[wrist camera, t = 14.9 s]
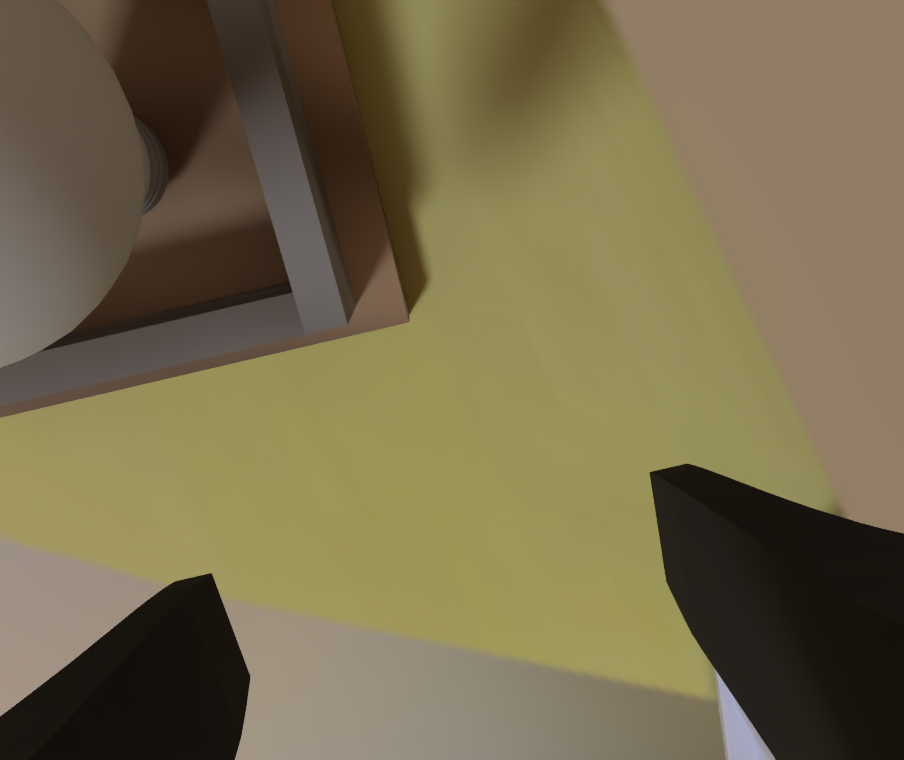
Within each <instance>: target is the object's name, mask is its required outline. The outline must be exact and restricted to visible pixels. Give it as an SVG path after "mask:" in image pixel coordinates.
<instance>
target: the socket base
mask: <svg viewBox="0 0 904 760" xmlns="http://www.w3.org/2000/svg"><path fill="white" fill-rule="evenodd" d="M59 1H60V2H61V4H62V5H63V6H64V7H65V8H66V9H67V10H68V11H69V12H70V13H71V14H72V15H73V16H74V17H75V18H76V20H77V21H78V22H79V23H80V24H81V25H82V27H83V28H84V29H85V30H86V31H87V33H88V34H89V35H90V37H91V38H92V40H93V41H94V43H95V44H96V46H97V47H98V49H99V50H100V51H101V53H102V54H103V56H104V57H105V59H106V60H107V62H108V63H109V65H110V66H111V68H112V69H113V71H114V72H115V75H116V77H117V79H118V81H119V83H120V86H121V88H122V90H123V92H124V94H125V97H126V99H127V101H128V103H129V105H130V108H131V110H132V113H133V116H135V117H137V118H139V119H140V120H141V121H143V122H144V123H146V124H147V125H148V126H149V127H150V128H151V129H152V130H153V131H154V133H155V134H156V136H157V137H158V138H159V140H160V141H161V143H162V146H163V148H164V150H165V152H166V156H167V160H168V168H169V176H168V183H167V187H166V190H165V192H164V195H163V196H162V198H161V199H160V201H159V203H158V204H157V205H156V206H155V207H154V208H153V209H152V210H150V211H149V212H147V213H145V214H144V215H142V216H141V223H140V229H139V232H138V234H137V237H136V240H135V243H134V245H133V248H132V251H131V254H130V257H129V259H128V262H127V263H126V265H125V267H124V268H123V270H122V271H121V273H120V274H119V276H118V278H117V279H116V281H115V282H114V284H113V286H112V287H111V289H110V290H109V292H108V293H107V294H106V296H105V297H104V298H103V300H102V301H101V302H100V304H99V305H98V306H97V307H96V308H95V309H94V310H93V311H92V312H91V313H90V314H89V315H88V316H87V317H86V318H85V319H84V320H83V321H82V322H81V323H80V324H79V325H78V326H77V327H76V328H75V329H74V330H73V331H71V332H70V333H68V334H67V335H65V336H63V337H62V338H60V339H59V340H57V341H55V342H54V343H52V344H51V345H49V346H47V347H46V348H44V349H43V350H41V351H39V352H37V353H35V354H33V355H31V356H29V357H27V358H24V359H22V360H20V361H17V362H15V363H12V364H9V365H6V366H4V367H1V368H0V417H4V416H9V415H13V414H17V413H22V412H26V411H30V410H34V409H39V408H43V407H47V406H52V405H56V404H60V403H64V402H69V401H73V400H77V399H82V398H86V397H90V396H94V395H99V394H103V393H107V392H112V391H116V390H120V389H124V388H129V387H133V386H137V385H142V384H146V383H150V382H154V381H159V380H163V379H167V378H172V377H176V376H180V375H184V374H189V373H193V372H197V371H202V370H206V369H210V368H214V367H219V366H223V365H227V364H232V363H236V362H240V361H244V360H249V359H253V358H257V357H261V356H266V355H270V354H274V353H279V352H283V351H287V350H291V349H296V348H300V347H304V346H309V345H313V344H317V343H321V342H326V341H330V340H334V339H339V338H343V337H347V336H351V335H356V334H360V333H364V332H369V331H373V330H377V329H381V328H386V327H390V326H394V325H399V324H403V323H407V322H409V311H408V307H407V303H406V299H405V295H404V291H403V287H402V283H401V279H400V275H399V271H398V267H397V262H396V258H395V254H394V250H393V246H392V242H391V238H390V234H389V230H388V226H387V222H386V218H385V214H384V210H383V206H382V202H381V198H380V194H379V190H378V186H377V182H376V178H375V174H374V169H373V165H372V161H371V157H370V153H369V149H368V145H367V141H366V137H365V133H364V129H363V125H362V121H361V117H360V113H359V109H358V105H357V101H356V97H355V93H354V89H353V85H352V81H351V77H350V72H349V68H348V64H347V60H346V56H345V52H344V48H343V44H342V40H341V36H340V32H339V28H338V24H337V20H336V16H335V12H334V8H333V4H332V0H59Z"/></svg>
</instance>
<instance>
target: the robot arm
mask: <svg viewBox="0 0 904 760" xmlns="http://www.w3.org/2000/svg"><path fill="white" fill-rule="evenodd" d="M650 478H651V484H652V491H653V497H654V504H655V510H656V517H657V523H658V530H659V536H660V543H661V549H662V556H663V562H664V569H665V575H666V581H667V584H668V586H669V588H670V590H671V592H672V594H673V596H674V598H675V601H676V603H677V605H678V607H679V609H680V611H681V613H682V615H683V617H684V619H685V621H686V623H687V625H688V627H689V629H690V631H691V633H692V635H693V636H694V638H695V639H696V641H697V642H698V644H699V645H700V647H701V649H702V650H703V652H704V653H705V655H706V656H707V658H708V659H709V661H710V662H711V664H712V665H713V670H714V677H715V684H716V692H717V699H718V706H719V713H720V721H721V727H722V735H723V742H724V750H725V757H726V760H904V534H903V533H898V532H894V531H890V530H886V529H881V528H877V527H874V526H870V525H866V524H862V523H859V522H855V521H852V520H849V519H845V518H842V517H839V516H836V515H832V514H829V513H826V512H823V511H819V510H816V509H813V508H810V507H807V506H804V505H801V504H798V503H795V502H792V501H790V500H787V499H784V498H781V497H778V496H776V495H773V494H770V493H767V492H765V491H762V490H759V489H757V488H754V487H751V486H749V485H746V484H744V483H741V482H738V481H736V480H733V479H731V478H728V477H725V476H723V475H720V474H717V473H715V472H712V471H709V470H706V469H704V468H701V467H698V466H694V465H690V464H683V465H679V466H675V467H670V468H666V469H662V470H657V471H653V472H650ZM249 684H250V674H249V672H248V669H247V667H246V664H245V661H244V658H243V656H242V653H241V650H240V648H239V645H238V642H237V640H236V637H235V634H234V632H233V629H232V626H231V624H230V621H229V618H228V616H227V613H226V611H225V608H224V605H223V602H222V600H221V597H220V594H219V592H218V589H217V586H216V584H215V581H214V578H213V576H212V573H210V574H206V575H201V576H197V577H193V578H188V579H184V580H180V581H175V582H174V583H172V584H170V585H169V586H167V587H165V588H164V589H162V590H161V591H160V592H159V593H157V594H156V595H154V596H153V597H151V598H150V599H149V600H147V601H146V602H145V603H144V604H142V605H141V606H140V607H138V608H137V609H136V610H135V611H134V612H132V613H131V614H130V615H129V616H128V617H126V618H125V619H124V620H122V621H121V622H120V623H119V624H118V625H116V626H115V627H114V628H113V629H111V630H110V631H109V632H108V633H106V634H105V635H104V636H103V637H101V638H100V639H99V640H98V641H97V642H95V643H94V644H93V645H92V646H91V647H89V648H88V649H87V650H86V651H84V652H83V653H82V654H81V655H79V656H78V657H77V658H76V659H75V660H73V661H72V662H71V663H70V664H68V665H67V666H66V667H64V668H63V669H62V670H60V671H59V672H58V673H57V674H55V675H54V676H53V677H51V678H50V679H49V680H47V681H46V682H45V683H44V684H42V685H41V686H40V687H38V688H37V689H36V690H34V691H33V692H32V693H31V694H30V695H28V696H27V697H25V698H24V699H23V700H21V701H20V702H19V703H18V704H16V705H15V706H14V707H12V708H11V709H10V710H8V711H7V712H6V713H5V714H3V715H2V716H0V760H235V757H236V753H237V750H238V746H239V742H240V739H241V734H242V729H243V723H244V717H245V712H246V705H247V697H248V691H249Z"/></svg>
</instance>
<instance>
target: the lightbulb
mask: <svg viewBox="0 0 904 760" xmlns="http://www.w3.org/2000/svg"><path fill="white" fill-rule="evenodd" d="M168 176H169V168H168V160H167V156H166V152H165V150H164V148H163V146H162V143H161V141H160V140H159V138H158V137H157V136H156V134H155V133H154V131H153V130H152V129H151V128H150V127H149V126H148V125H147V124H146V123H144V122H143V121H141V120H140V119H139V118H137V117H135V116H133V113H132V110H131V108H130V105H129V103H128V101H127V99H126V97H125V94H124V92H123V90H122V88H121V86H120V83H119V81H118V79H117V77H116V75H115V72H114V71H113V69H112V68H111V66H110V65H109V63H108V62H107V60H106V59H105V57H104V56H103V54H102V53H101V51H100V50H99V49H98V47H97V46H96V44H95V43H94V41H93V40H92V38H91V37H90V35H89V34H88V33H87V31H86V30H85V29H84V28H83V27H82V25H81V24H80V23H79V22H78V21H77V20H76V18H75V17H74V16H73V15H72V14H71V13H70V12H69V11H68V10H67V9H66V8H65V7H64V6H63V5H62V4H61V2H60V1H59V0H0V368H1V367H4V366H6V365H9V364H12V363H15V362H17V361H20V360H22V359H24V358H27V357H29V356H31V355H33V354H35V353H37V352H39V351H41V350H43V349H44V348H46V347H47V346H49V345H51V344H52V343H54V342H55V341H57V340H59V339H60V338H62V337H63V336H65V335H67V334H68V333H70V332H71V331H73V330H74V329H75V328H76V327H77V326H78V325H79V324H80V323H81V322H82V321H83V320H84V319H85V318H86V317H87V316H88V315H89V314H90V313H91V312H92V311H93V310H94V309H95V308H96V307H97V306H98V305H99V304H100V302H101V301H102V300H103V298H104V297H105V296H106V294H107V293H108V292H109V290H110V289H111V287H112V286H113V284H114V282H115V281H116V279H117V278H118V276H119V274H120V273H121V271H122V270H123V268H124V267H125V265H126V263H127V262H128V259H129V257H130V254H131V251H132V248H133V245H134V243H135V240H136V237H137V234H138V232H139V229H140V223H141V216H142V215H144V214H145V213H147V212H149V211H150V210H152V209H153V208H154V207H155V206H156V205H157V204H158V203H159V201H160V199H161V198H162V196H163V195H164V192H165V190H166V187H167V183H168Z"/></svg>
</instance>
